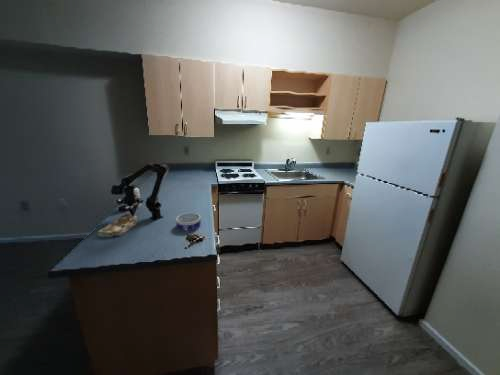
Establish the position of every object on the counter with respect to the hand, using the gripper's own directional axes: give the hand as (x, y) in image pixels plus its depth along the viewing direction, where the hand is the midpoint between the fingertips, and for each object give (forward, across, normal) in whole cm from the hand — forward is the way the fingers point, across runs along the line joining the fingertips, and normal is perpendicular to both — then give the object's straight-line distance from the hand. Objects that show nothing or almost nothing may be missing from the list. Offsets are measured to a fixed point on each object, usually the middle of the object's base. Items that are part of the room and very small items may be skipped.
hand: (133, 215), depth 149 cm
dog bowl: (+2, +4, +42) cm, 43 cm away
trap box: (+2, +14, +2) cm, 14 cm away
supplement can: (+2, -18, -11) cm, 21 cm away
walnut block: (+1, +7, 0) cm, 7 cm away
